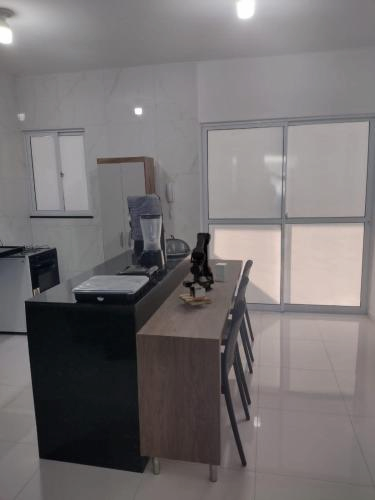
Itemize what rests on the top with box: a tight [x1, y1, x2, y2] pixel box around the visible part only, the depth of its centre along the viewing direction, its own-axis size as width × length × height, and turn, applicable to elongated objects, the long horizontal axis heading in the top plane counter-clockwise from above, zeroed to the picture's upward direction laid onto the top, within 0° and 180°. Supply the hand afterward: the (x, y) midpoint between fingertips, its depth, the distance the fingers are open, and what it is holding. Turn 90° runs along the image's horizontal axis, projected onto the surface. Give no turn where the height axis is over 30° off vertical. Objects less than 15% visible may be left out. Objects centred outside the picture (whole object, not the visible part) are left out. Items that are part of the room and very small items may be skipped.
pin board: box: [179, 289, 213, 306], centre depth 230 cm, size 20×13×6 cm, turn 23°
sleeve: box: [192, 286, 206, 300], centre depth 225 cm, size 6×6×6 cm
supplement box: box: [214, 262, 229, 283], centre depth 276 cm, size 7×7×13 cm
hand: (198, 296), depth 226 cm, fingers closed on sleeve, 6 cm apart
